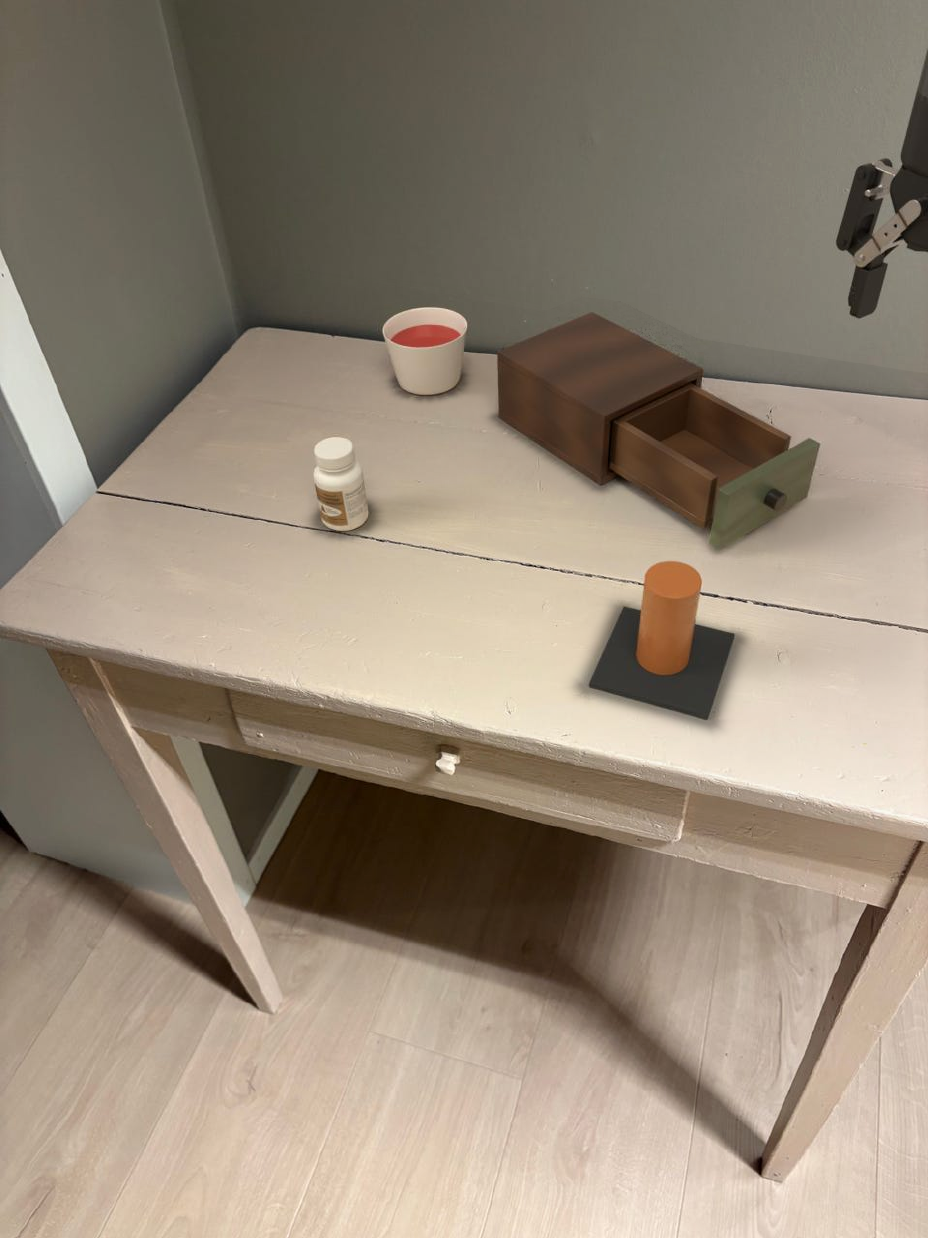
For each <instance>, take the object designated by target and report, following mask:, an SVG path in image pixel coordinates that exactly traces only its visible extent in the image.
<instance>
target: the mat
mask: <svg viewBox="0 0 928 1238" xmlns="http://www.w3.org/2000/svg"><path fill="white" fill-rule="evenodd" d="M620 611H621V612H620V613H619V616H618V618H617V620H616V622H615V625H614V627H613V630H612V631H611V633H610V636H609V638H608V641H607V642H606V645H605V647H604V649H603V652H602V654H601V656H600V658H599V661H598V663H597V665H596V668H595V669H594V672H593V674H592V676H591V679H590V680H589V684H588V685H589V686H588V687H589V688H591V689H595V690H599V691H601V692H606V693H610V694H613V695H617V696H619V697H624V698H627V699H631V700H635V701H637V702H641V703H646V704H649V705H653V706H655V707H660V708H664V709H667V710H672V711H674V712H678V713H681V714H686V715H688V716H691V717H696V718H699V719H702V720H709V717H710V714H711V711H712V707H713V704H714V701H715V698H716V695H717V693H718V689H719V686H720V683H721V680H722V677H723V673H724V671H725V667H726V664H727V661H728V659H729V658H728V657H729V655H730V652H731V649H732V645H733V643H734V639H735V635H736V634H735V633H734V632H730V631H725V630H721V629H717V628H715V627H714V628H713V627H710V626H705V625H701V624H697V623H695V627H694V633H693V639H692V644H691V650H690V656H689V662H688V664H687V666H686V667H685V668H684V669H683V670H682V671H680V672H678V673H676V674H673V675H658V674H654V673H651V672H649V671H647V670H646V669H644V668H643V667H642V666H641V665H640V664H639V662H638V660H637V657H636V651H637V642H638V633H639V624H640V615H641V609H637V608H634V607H633V608H632V607H629V606H625V605H624V606H623V607H622V609H621V610H620Z"/></svg>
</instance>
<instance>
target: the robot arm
mask: <svg viewBox="0 0 928 1238" xmlns="http://www.w3.org/2000/svg"><path fill="white" fill-rule="evenodd" d="M915 92H916V93H915V96H914V100H913V103H912V107H911V112H910V116H909V118H908V119H909V120H908V124H907V127H906V131H905V135H904V139H903V142H902V147H901V151H900V156H899V158H900V162H901V166H900V168H899V169H897V168H895V167H893V166H894V165H893V162H892V160H891V159H889V158H887V157H883V158H880V159H878V160H875V161H871V162H868V163H865V164H862V165H859V166H858V167H857V168H856V170H855V172H854V175H853V179H852V183H851V186H850V188H849V189H850V190H849V193H848V197H847V200H846V204H845V207H844V211H843V215H842V218H841V222H840V226H839V228H838V233H837V236H836V240H835V245H836V248H837V249H838V250H839V251H841V252H845V251H847V253H849V254H850V255H851V256H852V257H853V263H854V265H855V267H854V271H853V275H852V279H851V285H850V288H849V292H848V296H847V304H848V305H847V306H848V307H850V309H849V315H850V316H852V317H854V318H856V319H858V320H859V319H862V318H865V317H867V316H871V315H872V314H873V313H875V311H876V309H877V308H878V303H879V299H880V295H881V292H882V288H883V284H884V282H885V277H886V274H887V270H888V266H889V264H888V263H887V262H884V260H885V259H887V258H888V257H890V255H892V254H893V253H894V252H895V251H897V250H898V249H899V248H900V247H902V246H903V245H904V244H906V249H908V250H911V251H914V252H925V253H928V48H927V49H926V53H925V57H924V60H923V65H922V69H921V73H920V77H919V81H918V84H917V88H916V91H915ZM888 195H889V196H890V200H891V202H892V207H893V210H894V215H893V216H892V217H891V218H889V220H887V221H886V222H885V223H884V224H883V225H882V226H880V227H879V229H877V230H876V231H875V232H874V230H875V228H876V225H877V224H876V223H877V221H878V217H879V214H880V212H881V208H882V204H883V201H884V198H886V197H887V196H888Z"/></svg>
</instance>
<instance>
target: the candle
mask: <svg viewBox="0 0 928 1238" xmlns="http://www.w3.org/2000/svg"><path fill="white" fill-rule="evenodd" d="M467 333H468V322H467V320H466V318H465V317H464V316H463V315H461V314H460V313H458V312H457V311H454V310H451V309H449V308H448V309H447V308H443V307H431V306H430V307H429V306H428V307H416V308H411V309H408V310H404V311H402V312H399V313H396V314H394V315H393V316H391V317H390V318H388V319H387V320H386V322H385V323H384V324H383V327H382V335H383V339H384V342H385V345H386V348H387V351H388V355H389V359H390V361H391V364H392V368H393V371H394V374H395V378H396V380H397V382H398V385H399V387H400V388H402V389H403V390H404V391H406V392H408V393H410V394H413V395H419V396H433V395H439V394H443V393H446V392H447V391H450V390H451V389H453V388H454V387H456V386H457V384H458V383H459V382H460V379H461V376H462V369H463V362H464V355H465V354H464V353H465V348H466V340H467Z"/></svg>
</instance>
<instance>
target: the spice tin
mask: <svg viewBox="0 0 928 1238" xmlns="http://www.w3.org/2000/svg"><path fill="white" fill-rule="evenodd" d="M702 585H703V581H702V577H701V574H700V573H699V572H698V570H696V569H695V568H694V567H693V566H691V565H689V564H688V563H684V562H681V561H676V560H665V561H660V562H657V563H655V564H653V565H651V566H650V567H649V568H648V569H647V570H646V572H645V574H644V580H643V589H642V596H641V597H642V598H641V608H640V610H641V615H640V624H639V633H638V642H637V651H636V657H637V660H638V662H639V664H640V665H641V666H642V667H643V668H644V669H646V670H647V671H649V672H651V673H654V674H658V675H673V674H676V673H678V672H680V671H682V670H683V669H684V668H685V667H686V666H687V664H688V662H689V656H690V650H691V644H692V639H693V633H694V627H695V624H696V619H697V615H698V608H699V603H700V596H701V591H702Z"/></svg>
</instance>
